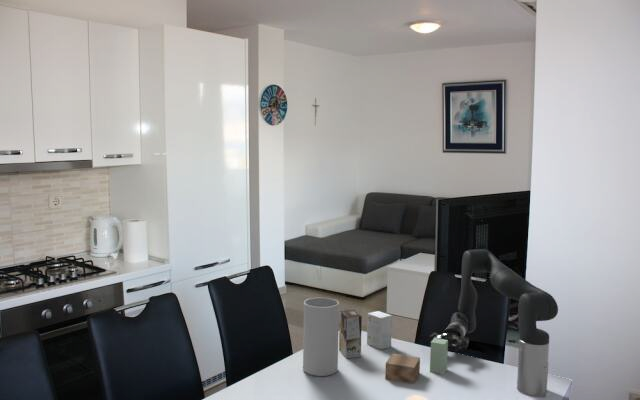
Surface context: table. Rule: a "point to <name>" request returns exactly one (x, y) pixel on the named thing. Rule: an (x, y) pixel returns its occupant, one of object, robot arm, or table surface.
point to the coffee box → (350, 333)
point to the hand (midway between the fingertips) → (444, 346)
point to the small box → (379, 329)
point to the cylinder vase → (320, 336)
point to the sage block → (438, 355)
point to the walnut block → (402, 368)
